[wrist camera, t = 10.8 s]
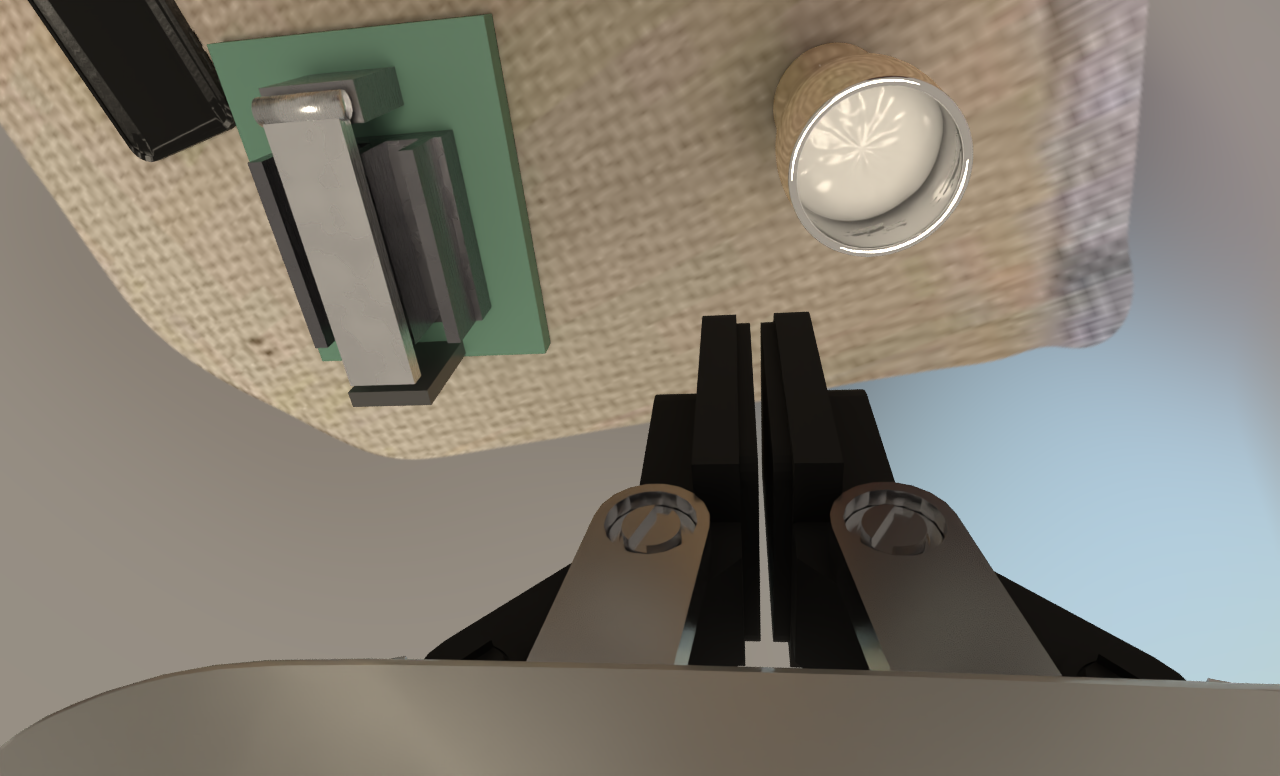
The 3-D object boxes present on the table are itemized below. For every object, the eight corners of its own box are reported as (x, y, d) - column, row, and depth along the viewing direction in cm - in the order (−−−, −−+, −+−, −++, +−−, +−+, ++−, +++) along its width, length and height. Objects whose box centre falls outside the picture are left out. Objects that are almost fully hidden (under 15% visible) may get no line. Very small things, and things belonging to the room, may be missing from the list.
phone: (142, 167, 44) (-47, -107, 37) (154, 162, 45) (-27, -105, 38) (241, 123, 42) (60, -175, 35) (251, 120, 43) (77, -171, 36)
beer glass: (917, 122, 39) (1009, 200, 26) (802, 191, 41) (835, 293, 28) (860, 3, 36) (932, 24, 23) (741, 84, 39) (748, 144, 26)
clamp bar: (264, 95, 35) (247, 99, 34) (346, 87, 34) (332, 91, 33) (356, 376, 43) (346, 387, 42) (425, 374, 42) (416, 385, 41)
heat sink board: (223, 41, 40) (120, 57, 34) (491, 13, 38) (440, 24, 31) (332, 351, 51) (271, 411, 44) (550, 343, 48) (521, 405, 41)
